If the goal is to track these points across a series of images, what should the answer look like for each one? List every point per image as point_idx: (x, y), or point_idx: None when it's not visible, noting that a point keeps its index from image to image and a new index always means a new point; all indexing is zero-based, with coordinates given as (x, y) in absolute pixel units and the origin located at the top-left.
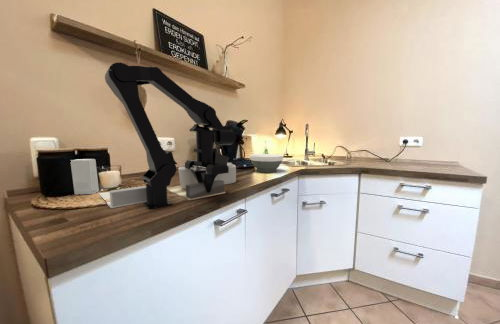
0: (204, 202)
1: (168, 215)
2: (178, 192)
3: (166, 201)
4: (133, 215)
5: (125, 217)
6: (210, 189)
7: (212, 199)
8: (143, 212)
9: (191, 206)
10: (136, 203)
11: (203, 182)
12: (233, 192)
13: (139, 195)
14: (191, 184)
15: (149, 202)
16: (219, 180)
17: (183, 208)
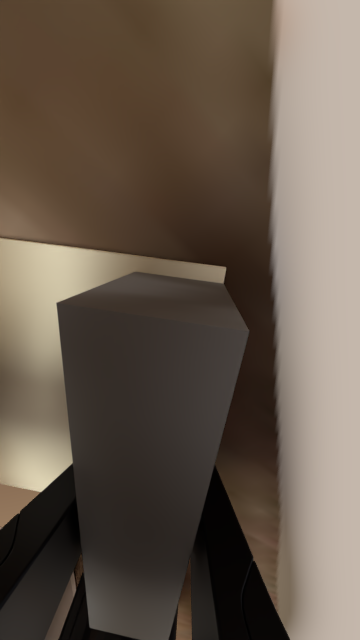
0: (271, 494)
1: (277, 611)
2: (4, 473)
3: (177, 606)
4: (187, 628)
5: (186, 637)
6: (215, 473)
7: (267, 441)
8: (182, 614)
9: (266, 546)
10: (75, 590)
11: (93, 541)
12: (271, 165)
13: (56, 635)
14: (104, 612)
15: None
16: (121, 351)
17: (258, 567)
